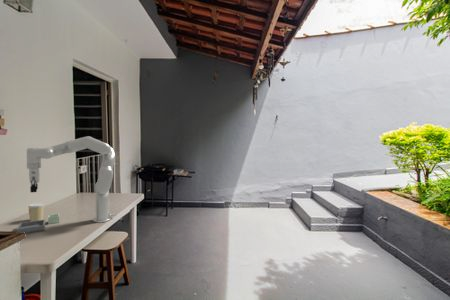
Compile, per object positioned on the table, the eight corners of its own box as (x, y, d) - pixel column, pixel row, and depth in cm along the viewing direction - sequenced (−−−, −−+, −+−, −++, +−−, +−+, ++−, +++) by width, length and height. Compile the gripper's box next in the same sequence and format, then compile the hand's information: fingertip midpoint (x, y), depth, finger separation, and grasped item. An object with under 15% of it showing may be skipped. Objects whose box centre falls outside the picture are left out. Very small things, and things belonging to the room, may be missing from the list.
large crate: (45, 224, 172) (45, 219, 172) (44, 230, 161) (44, 225, 161) (20, 227, 164) (20, 223, 164) (16, 234, 153) (16, 229, 153)
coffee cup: (31, 218, 183) (31, 203, 183) (46, 217, 187) (45, 202, 186) (26, 222, 174) (26, 206, 174) (41, 221, 178) (41, 205, 177)
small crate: (59, 220, 181) (59, 213, 181) (59, 222, 176) (59, 216, 176) (48, 221, 178) (48, 215, 177) (48, 224, 172) (48, 217, 172)
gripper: (40, 167, 156) (40, 192, 157) (41, 164, 170) (41, 187, 171) (25, 167, 152) (25, 193, 153) (27, 164, 166) (28, 189, 167)
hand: (34, 190), depth 162 cm, fingers open, 9 cm apart
